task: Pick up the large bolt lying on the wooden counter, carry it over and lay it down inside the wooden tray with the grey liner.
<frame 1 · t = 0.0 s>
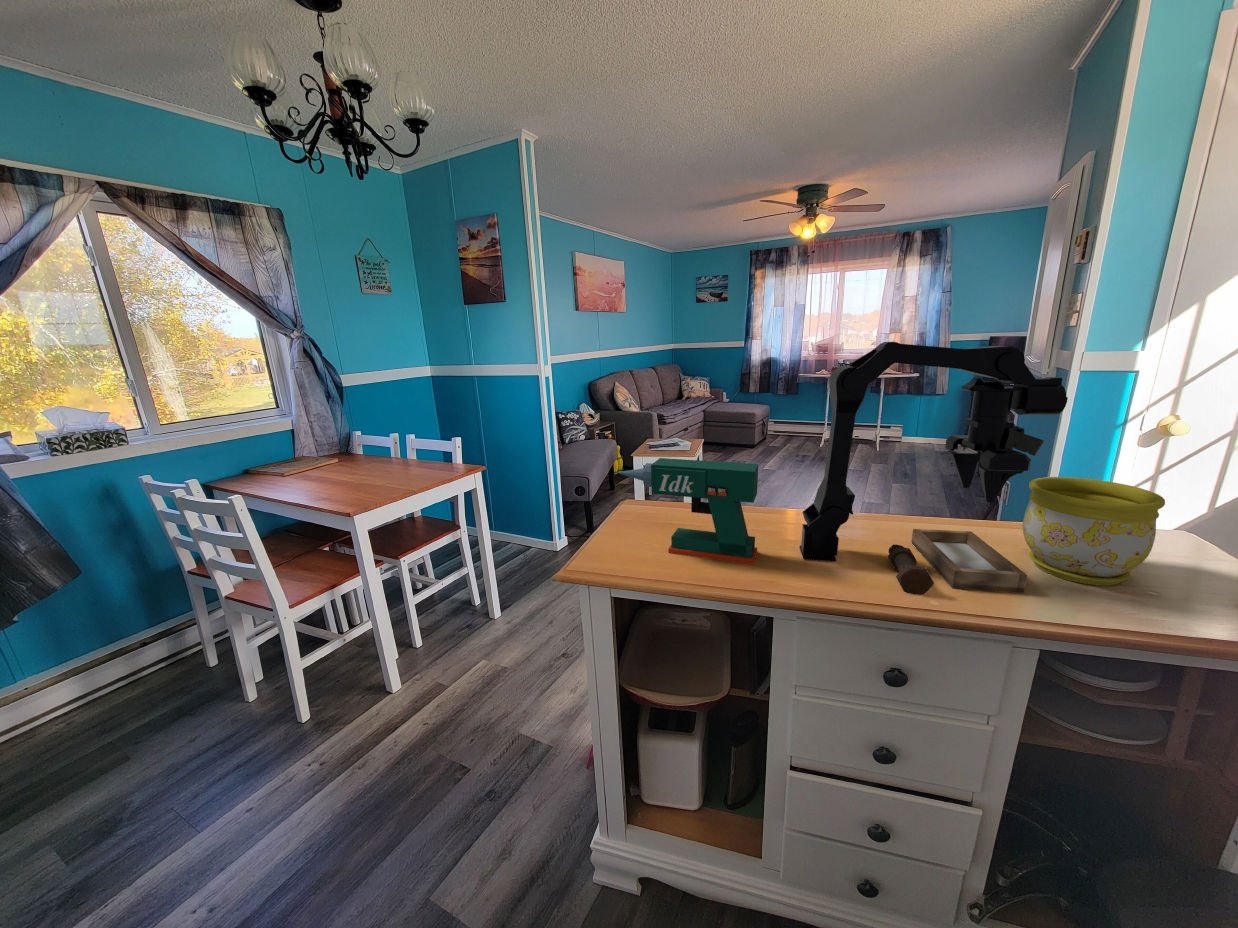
hand: (977, 494, 93), 15 cm above the table, tool pointing down, fingers open, 9 cm apart
power tool: (682, 549, 108), on the table
wooden tray: (961, 565, 96), on the table
bolt: (905, 576, 93), on the table
flowerpot: (1075, 571, 92), on the table
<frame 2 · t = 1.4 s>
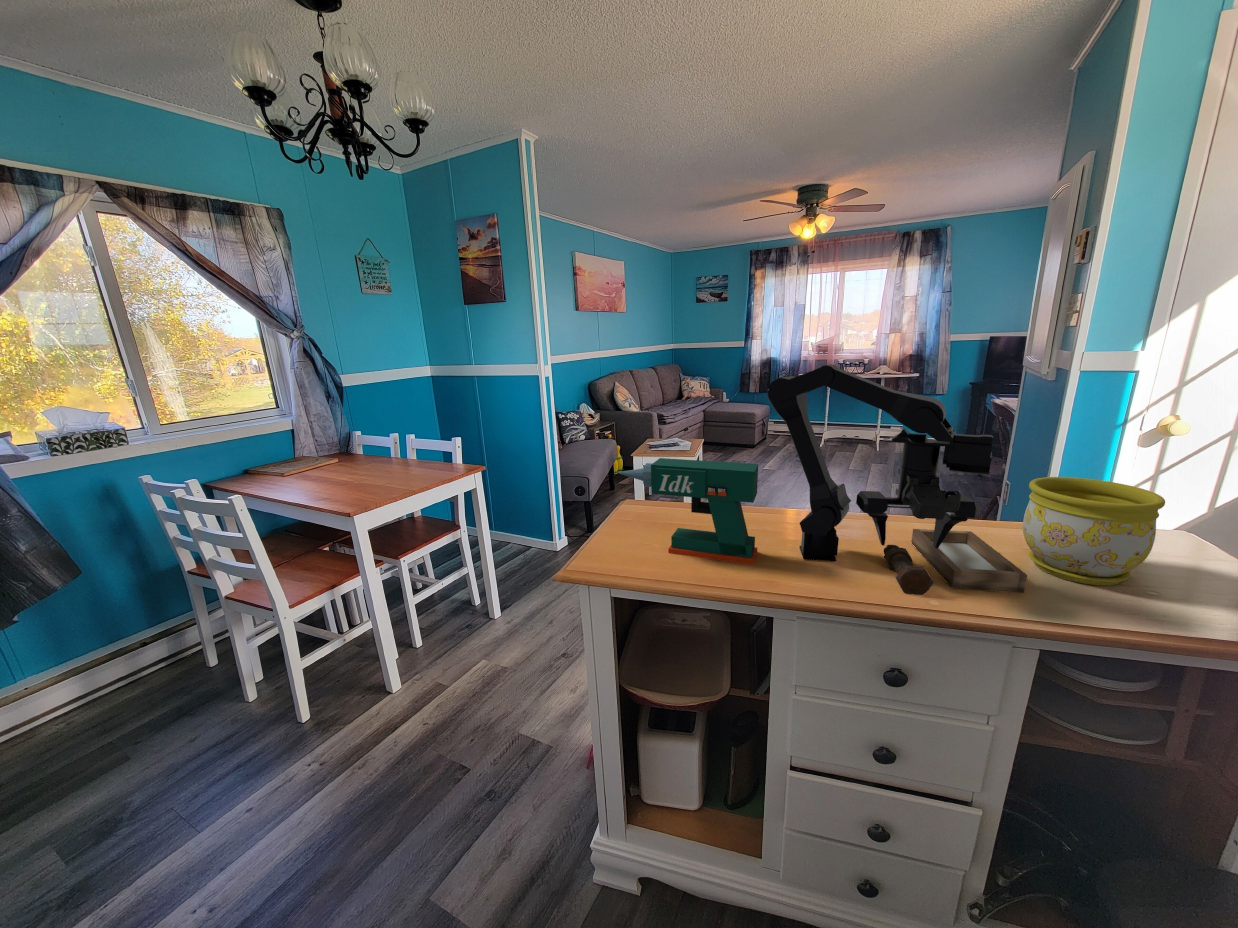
hand: (908, 546, 91), 6 cm above the table, tool pointing down, fingers open, 9 cm apart
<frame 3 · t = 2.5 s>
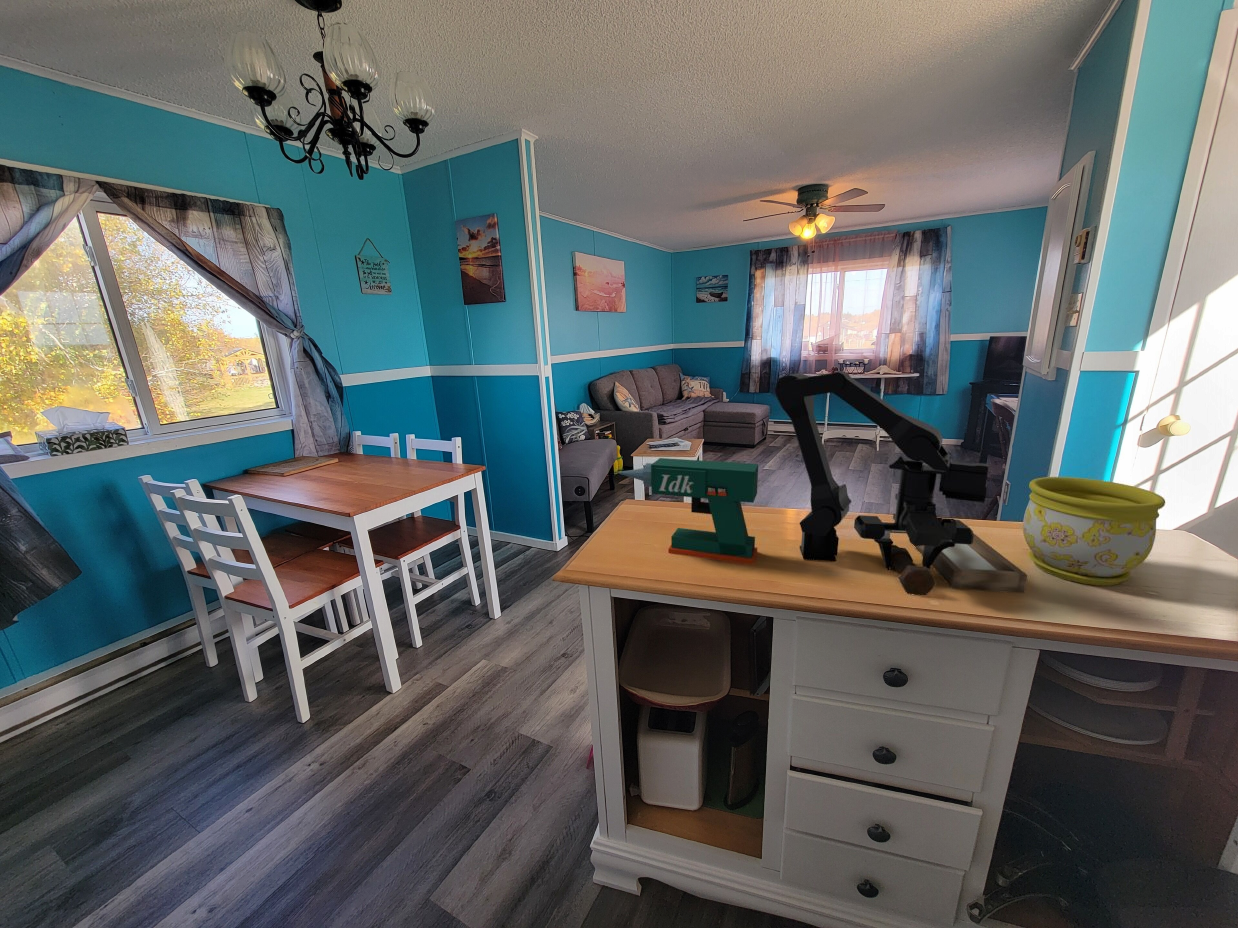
hand: (905, 570, 92), 1 cm above the table, tool pointing down, fingers open, 6 cm apart
nothing on the table moved.
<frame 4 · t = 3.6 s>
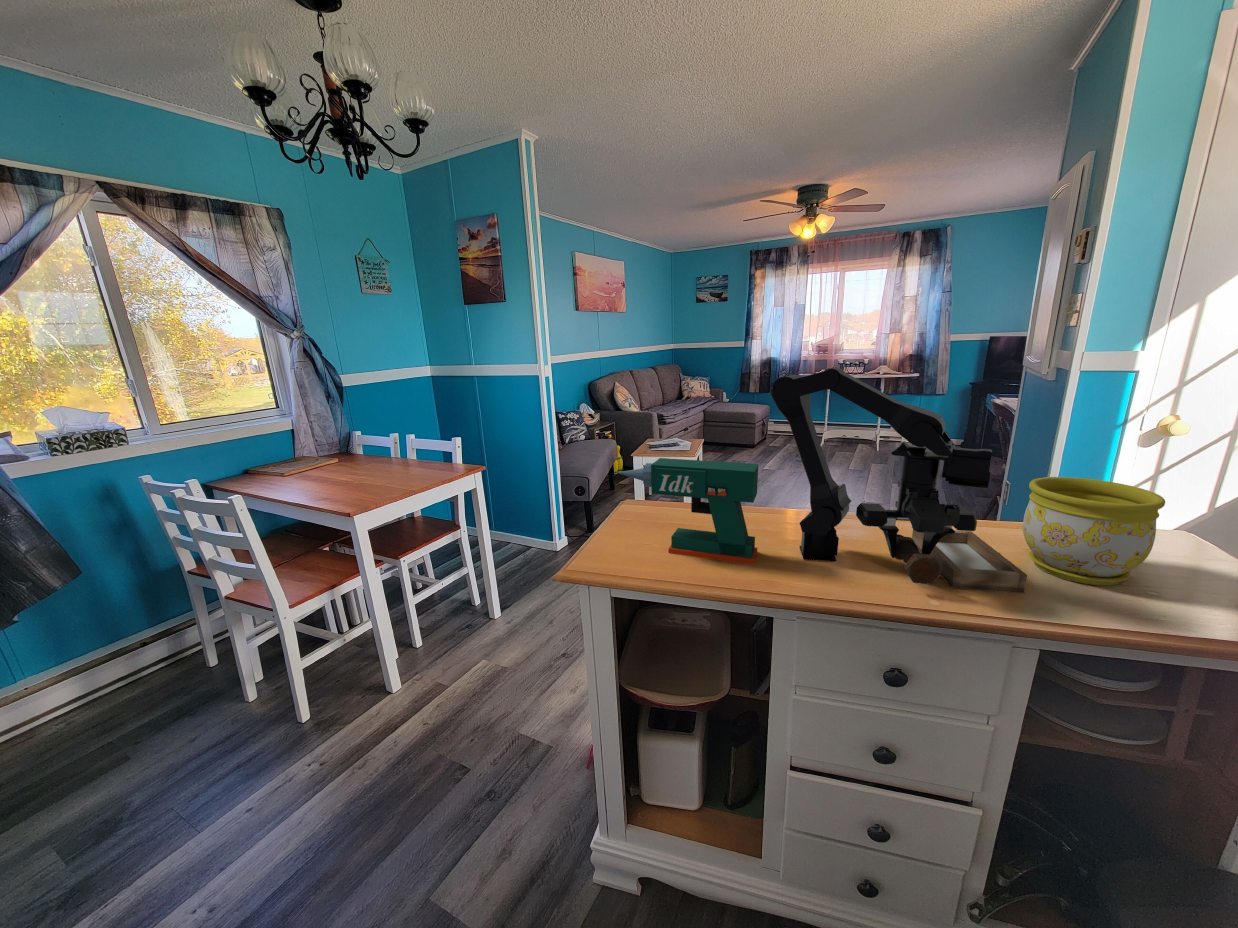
hand: (908, 558, 92), 4 cm above the table, tool pointing down, fingers closed on bolt, 5 cm apart
bolt: (908, 566, 92), point 2 cm above the table, touching gripper
everything else where it was.
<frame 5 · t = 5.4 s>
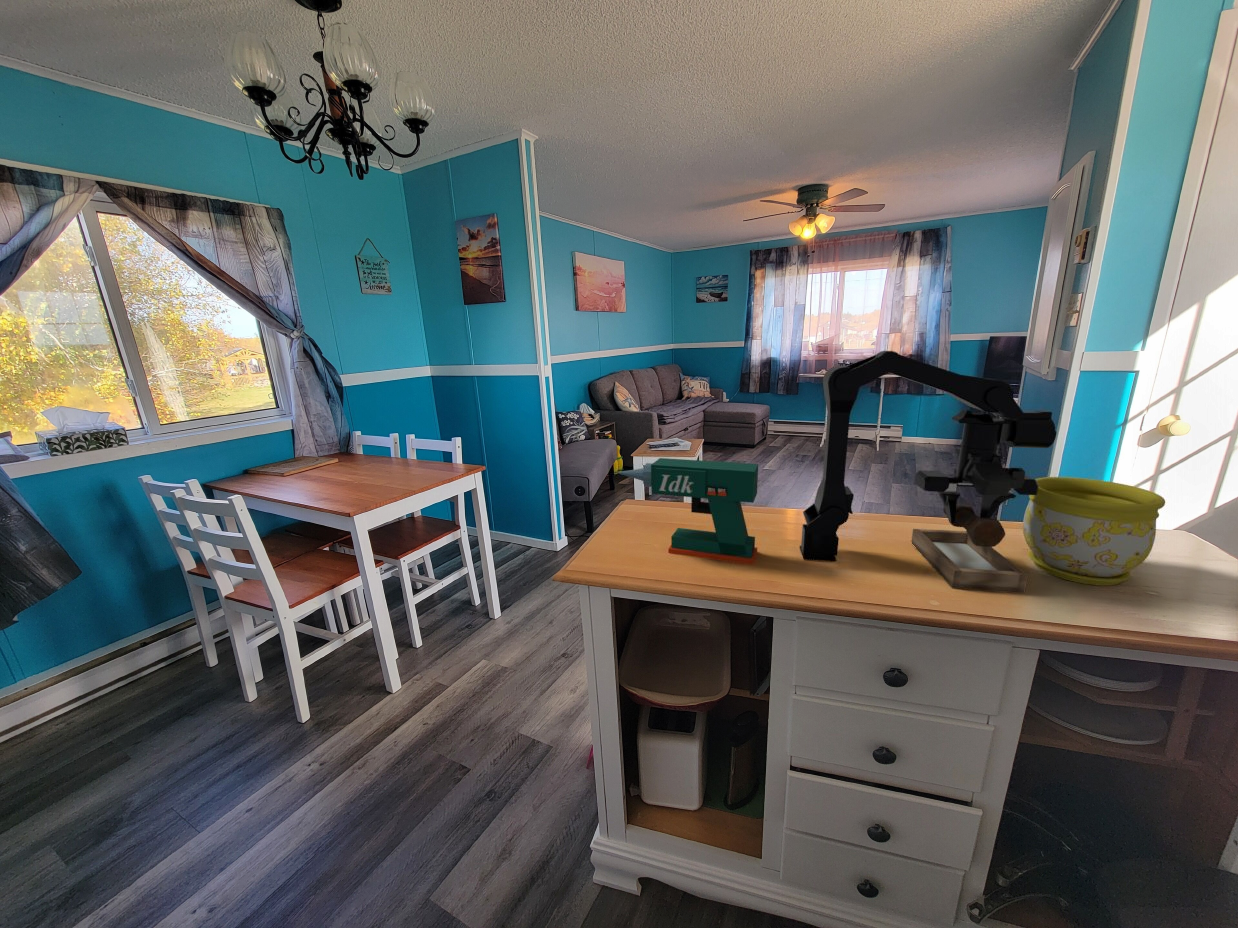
hand: (966, 524, 94), 9 cm above the table, tool pointing down, fingers closed on bolt, 5 cm apart
bolt: (967, 532, 94), point 7 cm above the table, touching gripper
everything else where it was.
when the fingers open (4 cm above the table, at t = 7.0 s): bolt drops 1 cm, resting on wooden tray.
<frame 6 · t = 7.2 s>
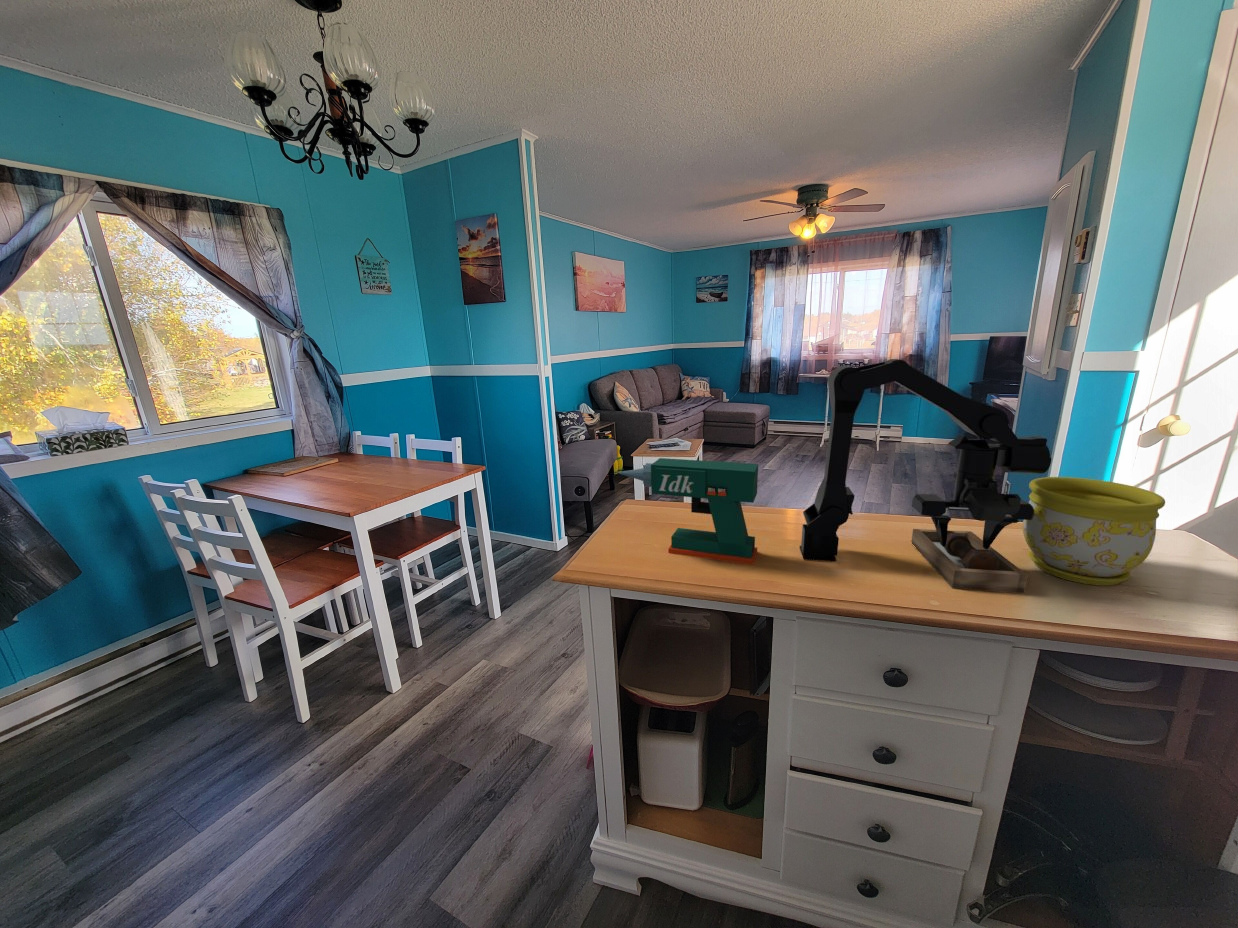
hand: (963, 547, 95), 4 cm above the table, tool pointing down, fingers open, 7 cm apart
bolt: (962, 561, 95), point 1 cm above the table, touching wooden tray
everything else where it was.
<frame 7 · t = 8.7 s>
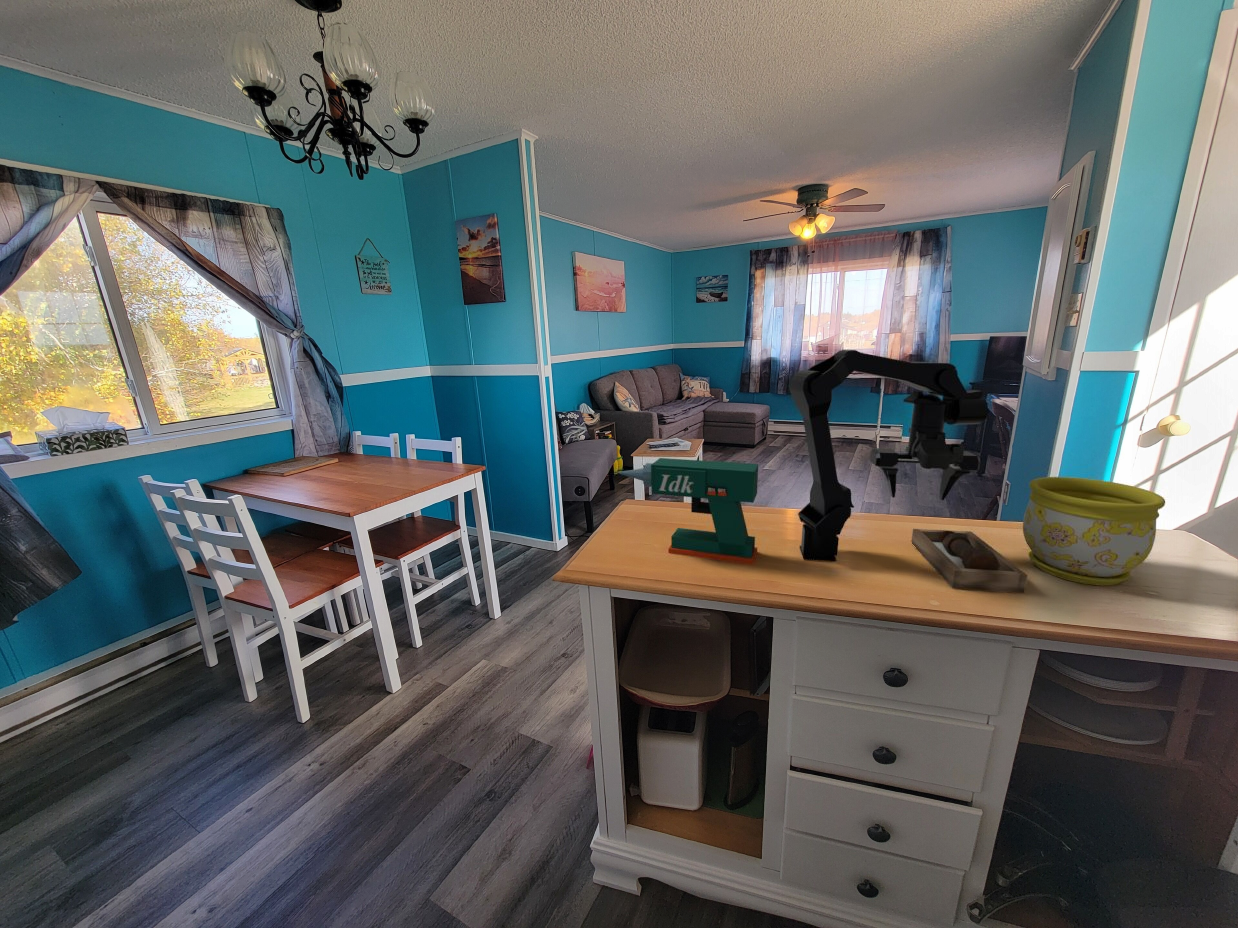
hand: (916, 498, 101), 12 cm above the table, tool pointing down, fingers open, 9 cm apart
nothing on the table moved.
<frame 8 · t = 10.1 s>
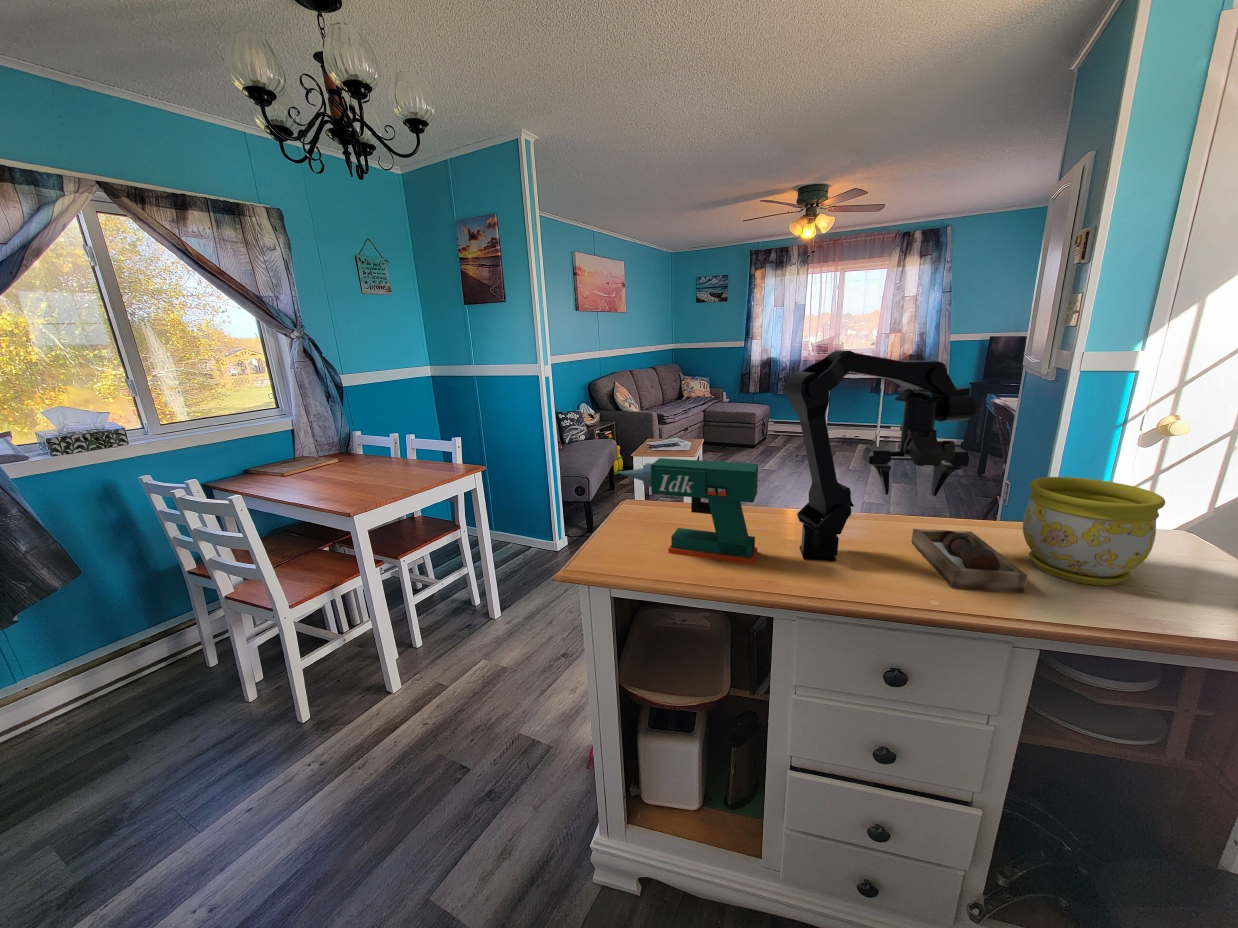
hand: (909, 494, 102), 12 cm above the table, tool pointing down, fingers open, 9 cm apart
nothing on the table moved.
at the end: bolt inside the target area on the wooden tray (0.4 cm from its centre), point 1.0 cm above the wooden tray's base; the gripper is holding nothing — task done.
